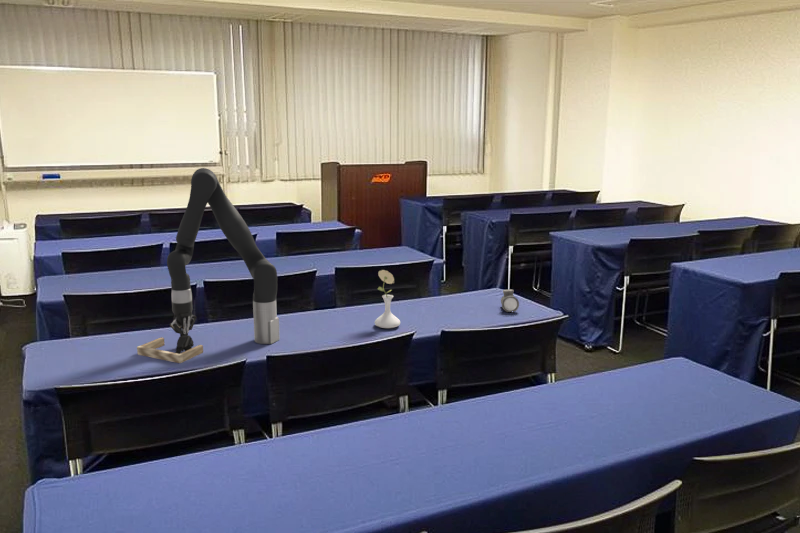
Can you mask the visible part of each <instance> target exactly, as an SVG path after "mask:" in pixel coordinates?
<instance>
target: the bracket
mask: <svg viewBox="0 0 800 533" xmlns="http://www.w3.org/2000/svg"><path fill="white" fill-rule="evenodd" d="M163 346H165V338H164V337H159V338H156V339H153V340H151V341H148V342H145V343H143V344H141V345H138V346H136V350H137V355H138V356H143V357H149V358H152V359H157V360H162V361H167V362H172V363H175V364H176V363H177V364H182V363H184V362H186V361H189V360H191V359H192V358H194V357H197V356H199V355H201V354H203V353H204V344H203V345H202V344H198V345H196V346H193V347H192V348H191V349H189V350H187V351H182V352H181V353H180V354H178V353H175V352H172V351H168V350H162V349H159V348H162V347H163Z"/></svg>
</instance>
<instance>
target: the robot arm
mask: <svg viewBox="0 0 800 533" xmlns="http://www.w3.org/2000/svg"><path fill="white" fill-rule="evenodd" d="M207 204H208V206H209V207H210V209H211V211H212V214H213V216H214V218H215V221H216V223H217V224H218V227H219V229H220V230H221V232H222V234H223V235H224V236H225V238H226V239H227V241H228V243H229V244H230V245H231V246H232V248H234V250H236V252H237V253H238V254H239V255H240V257H241V258H242V260H243V262H244V264H245V265H246V267H247V269H248V271H249V274H250V276H251V277H252V279H253V289H254V290H253V294H252V308H253V309H252V312H253V315H252V316H253V336H254V337H253V338H254V343H257V344H259V345H267V344H269V345H271V344H274V343H276V342H278V341H280V339H281V337H280V318H279V317H278V315H277V312H278V311H277V294H278V271H277V268H276V266H275V265H274V264H272V263H271V262H270V261H269V260H268V259H267V258H266V257H265V255H264V254H263V253H262V252H261V250H260V249H259V247H258V246H257V244H256V242H255V239H254V236H253V234H252V232H251V230H250V227H249V226H248V224H247V223H246V221H245V220H244V219H243V217H242V215H241V214H240V213H239V211H238V210H237V208H236V207H235V206H234V204H233V203H232V202H231V201H230V199H229V198H228V196H227V194H226V193H225V191H224V190H223V187H222V186H221V184H220V182H219V179H218V177H217V175H216V174H215V172H214V171H213V170H211V169H210V168H205V167H200V168H197V169H196V170H195V171H194V172H193V174H192V176H191V180H190V191H189V199H188V203H187V206H186V209H185V211H184V214H183V216H182V217H181V218H182V219H181V221H180V224H179V227H178V229H177V232H176V233H177V234H176V237H175V242H176V246H175V249H174V250H173V251H171V252H170V253H169V254H168V255H167V258H166V266H167V272H168V274H169V276H170V283H171V284H170V285H171V310H172V313H173V314H174V316H173V321H172V322H170V323H169V327H170V328H171V329H172V330H173V331H174V333H175V334H179V337H181V336H183V335H189V332H190V331H192V329H193V327H194V325H195V322H196V320H197V318H198V317H197V316H196V315H194V314H193V293H192V288H191V287H192V286H191V278H190V274H189V273H187V271H186V266H188V264H190V262H191V260H192V258H193V255H194V247H195V243H196V239H197V236H198V233H199V230H200V226H201V224H202V219H203V215H204V212H205V209H206V208H207Z"/></svg>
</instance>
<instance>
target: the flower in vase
mask: <svg viewBox="0 0 800 533" xmlns="http://www.w3.org/2000/svg"><path fill="white" fill-rule="evenodd" d="M377 274H378V277H379V279H380V280H381V281H382V282H383V284H382V286H378V288H377V290H378V291H379V292H384V294H383V295H381V297H382V298H383V301H384V312H383V313H382V314H381V315H380V316H378V317H377V318H376V319H375V320H374V324H375V326H376V327H378V328H382V329H394V328H396V327H398V326H400V325H401V320H400V319H399V318H398V317H396V315H394V314H393V313H392V311H391V302H392V299H393V298H394V295H393V294H388V293H391V291H393V289H389V290H388V291H386V290H385V288H384V287H385V283H386V284H389V285H392V284H395V277H394V275H393V274H392V273H391V272H389V271H388V270H385V269H381V270H379V271H378V273H377Z"/></svg>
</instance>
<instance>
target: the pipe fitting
mask: <svg viewBox="0 0 800 533" xmlns="http://www.w3.org/2000/svg"><path fill="white" fill-rule="evenodd" d="M502 293H503V296H502V297H501V298H500V304H501V308H502V309H503V310H504V311H505V312H506V313H508V312H512V311H513V312H512V313H514V311H515V312H516V311H517V310H518V309H519V308H520V302H519V298H517V297H516V296H514V289H511V288H510V289H504V290H502Z"/></svg>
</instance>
